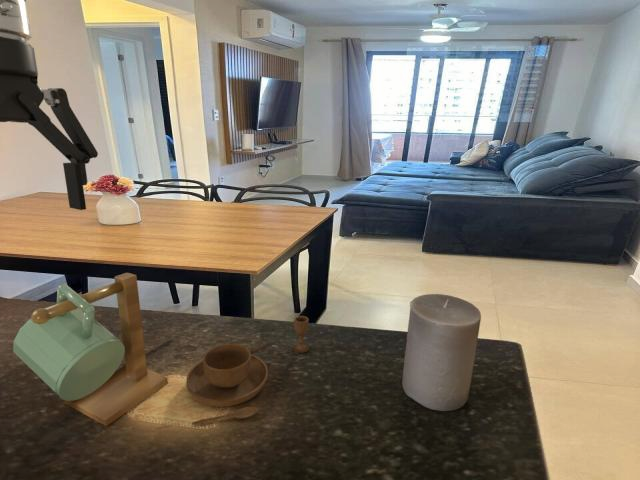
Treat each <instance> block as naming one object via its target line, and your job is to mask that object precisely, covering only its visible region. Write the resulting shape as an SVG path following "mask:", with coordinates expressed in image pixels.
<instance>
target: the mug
mask: <svg viewBox="0 0 640 480" xmlns="http://www.w3.org/2000/svg"><path fill="white" fill-rule="evenodd" d="M80 295H81V294H78V293H77V292H76V291H75V290H73V288H72V287H70V286H68V284H65V283H62V284H59V285H58V287H57V293H56V304H58V303H61V302H64V301H66V300H69V301H71V302H72V303H73V304H74V305H75V306H77V307H78V309H75V310H72V311H70V312H67V313H65V314H62V315H60V316H57V317H55V318H52V319H50V320H49V321H48V322H46V323H44V324H35V323H34V322H33V321H32V320H31V317H30V318H29V319H28V320H27V321H26V322H25V323H24V325H22V327H21V328H20V329H19V330H18V332H17V334H16V336H15V337H14V339H13V341H12V342H13V344H12V345H13V346H12V351H13V353H14V354H15V356H16V357H17V358H18V359H19V360H20V361H21V362H22V363H23V364H24V365H25V366H27V367H28V368H29V370H31V372H33V373H34V374H35V375H36V376H37V377H38V378H39V379H40V380H41V381H42V382H43V383H44V384H45V385H46V386H47V387H48V388H49V389H50V390H51V391H52V392H53V393H54V394H55V395H56V396H57V397H59V398H60V399H61V400H62V401H74V400H78V399H80V398H83V397H85V396H87V395H89V394H91V393H92V392H94V391H95V390H97V389H98V388H99V387H100V386H102V385H103V384H104V383H105V382H106V381H107V380H108V379H109V378H110V377H111V376H112V375H113V374H114V372H115V371H117V370H118V369H119V367H120V365H121V364H122V361H123V359H124V358H125V355H124V354H125V347H124V345H123V342H122V341H121V340H120V339H119V338H118V337H117V336H115V335H114V334H113V333H112V332H111V331H110V330H108V329H107V328H106V327H105V326H103V324H101V323H100V322H99V321H98V320H97V319H96V318H95V312H96V309H95V307H94V306H93V305H92V304H91V303H90V304H89V303H88V302H87V301H86V300H84V299H83V298H82V297H81V296H80Z"/></svg>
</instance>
